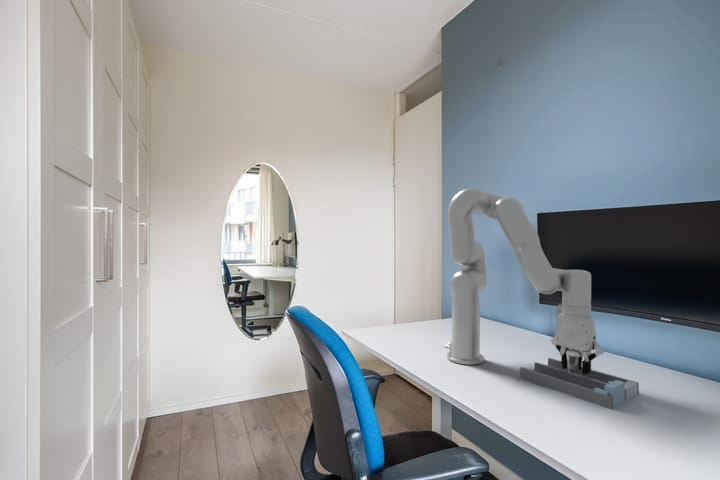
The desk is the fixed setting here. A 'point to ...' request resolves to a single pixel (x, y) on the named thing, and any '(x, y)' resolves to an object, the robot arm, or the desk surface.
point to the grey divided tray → (582, 383)
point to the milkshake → (574, 361)
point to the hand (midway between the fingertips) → (575, 370)
